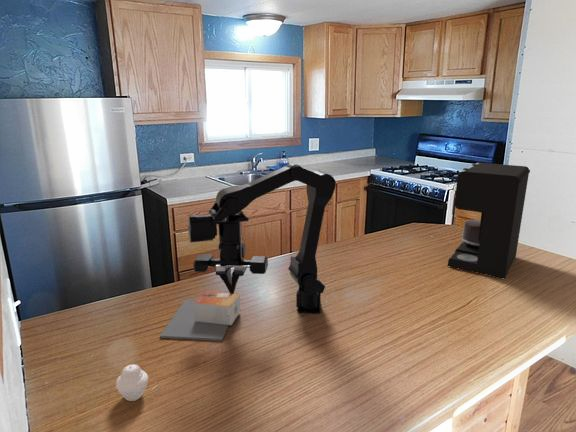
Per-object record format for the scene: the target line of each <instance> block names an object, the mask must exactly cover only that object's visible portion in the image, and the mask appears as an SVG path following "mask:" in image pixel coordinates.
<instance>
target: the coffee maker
mask: <svg viewBox="0 0 576 432" xmlns="http://www.w3.org/2000/svg"><path fill="white" fill-rule="evenodd" d="M530 173H531V169H529V167H528V166H525V165H514V164H513V165H512V164H499V163H487V162H476V163H472V164H471V165H470V166H468V167H465V168H464V167H463V169H462V170H461V171H460V172H458V174H457V179H456V187H455V194H454V207H455V208H456V209H457V210H461V211H467V212H473V213H474V212H476V213H481V215H480V219H468V220H467V219H466V220H464V222H463V229H462V236H461V243H460V245H458V246H457V248H456V249H455V251H454V252H453V254H452V255H451V256H450V257H449V258H448V259H447V267H448V266H450V267H449V268H451V267H455V268H459V269H458V270H460V269H463V270H462V271H464V270H468V271H467V272H469V271H473V272H478V273H482V274H481V275H483V274H487V275H491V276H490V277H492V276H495V277H494V278H496V277H499V278H498V279H501V278H504V279H503V280H505V279H506V278H507V276H508V274H507V273H509V272H508V271H510V270H511V268H512V266H513V264H514V262H515V260H516V256H517V251H518V245H519V238H520V232H521V225H522V219H523V212H524V207H525V201H526V195H527V187H528V181H529V177H530V176H529V174H530ZM465 218H467V217H466V216H465ZM514 259H515V260H514ZM513 261H514V262H513ZM512 263H513V264H512ZM511 265H512V266H511ZM510 267H511V268H510ZM455 268H454V269H455ZM509 269H510V270H509ZM473 272H472V273H473ZM478 273H477V274H478ZM487 275H486V276H487Z"/></svg>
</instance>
